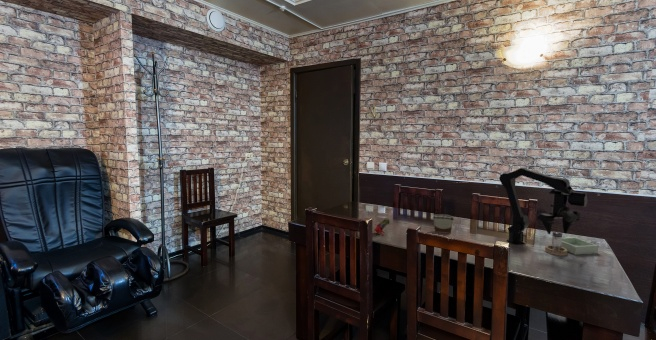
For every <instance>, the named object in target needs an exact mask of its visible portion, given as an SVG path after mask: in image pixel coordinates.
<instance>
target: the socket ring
mask: <svg viewBox="0 0 656 340" xmlns="http://www.w3.org/2000/svg"><path fill="white" fill-rule="evenodd" d="M551 246H552V244H548V245H545V249H544V251H545V252H546V253H549V254H550V255H556V256H567V255H568V251H567V249H566V248H563V247H561V251H558V250H552V249H551Z"/></svg>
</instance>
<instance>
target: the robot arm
mask: <svg viewBox="0 0 656 340" xmlns="http://www.w3.org/2000/svg"><path fill="white" fill-rule="evenodd" d="M520 177H525V178H528V179H531V180H534V181H538V182H540V183H542V184H545V185H547V186H549V187H550V188H551V190H550V191H549V192H548V194H550V195H553V197H552V204H551V203H550V207H551V211H550V212H549V214H548V213H539V214H538V215H537V219H538V220H539V221H540V222H542V224H543V226H544V228H545V231H546V232H547V234H548V235H551V233H552V226H553V224H555V222H554V220H562V228H563V229H562V230H563V233H564V234H568V231H569V230H570V228H571V226H572V225H573V224H575V223H577V222H578V221H580V218H581V217H580V216H581V212H580V211H578V210H574V211H573V210H572V211H571V210H570V206H575V207H581V208H586V207H587V204H588V196H587V192H576V191H575V190H574V189H573V187H572V186H571V184H570V183H571V182H570V181H569V179H567V178H564V177H557V176H552V175H548V174H543V173H540V172H537V171H534V170H530V169H529V168H526V167H519V168H518V169H515V170H513V171H511V172H509V171H508V172H504V173H501V174H500V176H499V181H500V184H501V186H502V187H504V189H505V191H506V195H507V198H508V202H509V205H510V209H511V213H512V220H511V221H512V225H511V226H508V227H507V230H508V239H506V241H507V242H508V243H511V244H513V245H525V244H526V243H525V242H524V237H525V233H524V231H525V230H526V229H528V227H529V225H530V223H531V222H530V220H529V217H528V215H525V214H524V213H523V210H522V207H521V204H520V201H519V197H518V194H517V190H516V179H518V178H520ZM568 204H569V205H570V206H568Z"/></svg>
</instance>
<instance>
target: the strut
mask: <svg viewBox="0 0 656 340" xmlns="http://www.w3.org/2000/svg"><path fill="white" fill-rule="evenodd" d="M551 235H552V238H551V245H552V246H551V249H552V250H558V251H561V244H562V238H563V233H562V232H559V231H552V234H551Z"/></svg>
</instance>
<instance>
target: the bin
mask: <svg viewBox="0 0 656 340" xmlns="http://www.w3.org/2000/svg"><path fill="white" fill-rule="evenodd" d="M561 247H563V248H566V249H567V253H570V254H573V255H589V254H590V255H591V254H598V253H599V247H600V246H599V244H595V243H592V242H589V241H587V240H584V239H581V238H579V237H576V236H575V237H573V236H571V237H562V244H561Z"/></svg>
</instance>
